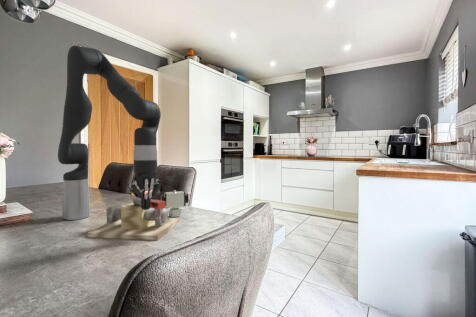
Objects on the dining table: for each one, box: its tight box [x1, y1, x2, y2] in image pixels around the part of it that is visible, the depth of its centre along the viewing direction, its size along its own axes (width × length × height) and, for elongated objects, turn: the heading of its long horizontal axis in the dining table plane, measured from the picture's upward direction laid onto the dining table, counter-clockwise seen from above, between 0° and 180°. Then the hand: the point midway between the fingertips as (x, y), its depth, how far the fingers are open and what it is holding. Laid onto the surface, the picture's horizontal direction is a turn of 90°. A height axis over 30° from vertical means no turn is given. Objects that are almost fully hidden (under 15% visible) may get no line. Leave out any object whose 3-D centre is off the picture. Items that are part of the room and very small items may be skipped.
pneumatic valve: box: [160, 189, 190, 218], centre depth 107 cm, size 6×12×12 cm, turn 111°
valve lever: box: [132, 197, 166, 209], centre depth 86 cm, size 16×3×2 cm, turn 58°
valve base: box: [87, 202, 181, 241], centre depth 91 cm, size 26×20×10 cm
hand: (146, 209), depth 81 cm, fingers closed
